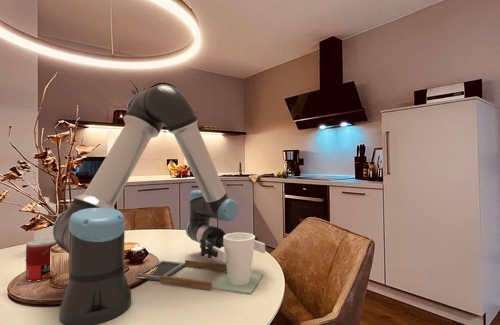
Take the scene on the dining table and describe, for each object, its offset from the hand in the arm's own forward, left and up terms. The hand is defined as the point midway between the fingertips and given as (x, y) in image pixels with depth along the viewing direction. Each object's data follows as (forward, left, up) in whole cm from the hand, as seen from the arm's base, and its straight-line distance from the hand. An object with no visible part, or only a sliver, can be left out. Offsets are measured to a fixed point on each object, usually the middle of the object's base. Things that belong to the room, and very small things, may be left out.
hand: (245, 252), depth 78 cm
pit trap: (+2, +29, -9) cm, 31 cm away
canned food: (-12, +62, -10) cm, 64 cm away
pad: (+2, +2, -9) cm, 10 cm away
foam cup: (+2, +3, -9) cm, 10 cm away
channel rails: (+2, +16, -9) cm, 19 cm away
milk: (+6, +85, -10) cm, 86 cm away
